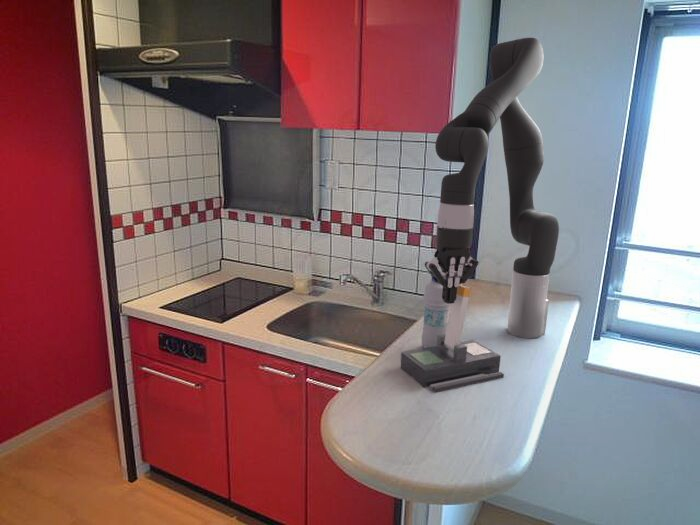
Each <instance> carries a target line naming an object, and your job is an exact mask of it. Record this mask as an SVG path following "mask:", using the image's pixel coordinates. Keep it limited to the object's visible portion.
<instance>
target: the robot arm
mask: <svg viewBox="0 0 700 525" xmlns="http://www.w3.org/2000/svg"><path fill="white" fill-rule="evenodd" d="M489 54H490V55H489V70H490V75H491V76H490V77H491V80H492V82H491V83H489V84H488V85H486V86H485V87H484V88H482V89H481V90H480V91H478V93H477V94H476V95H475V96H474V97H473V98H472V100H471V101H470V103H469V104H468V105H467V107H466V109H465V110H464V111H463V112H462V113H459V114H458V115H457V116H456V117H455V118H453V119H452V120H450V121H449V122H448V123H447V124H446V125H444V126H443V128H441V130H440V131H439V133H438V135H437V137H436V138H435V139H436V141H435V153H436V156H437V157H438V158H439V159H441V160H442V161H444V162H449V163H463V166H462V168H461V169H460V171H459V172H457V173H450V174H446V175H444V176H443V177H442V180H441V184H440V185H441V188H440V189H441V190H440V197H439V199H440V200H439V202H440V203H439V207H438V212H437V221H436V222H437V223H436V233H435V234H436V237H435V245H436V250H435V252H434V254H433V258H432V259H431V260H430V261H425V262H424V267H425V269H426V270H427V272H428V273H429V275H430V276H431V279H432V278H433V279H434V281H435V282H436V283H439V284H441V285H442V286H443V291H442V299H443V301H444V302H445V303H447V304H450V305H451V303H454V302H455V300H456V295H457V287H458V286H459V284H462V285H464V284H466V283H467V281H468V280H469V278H470V277H471V275H472V274H473V273H474V271H475V270H476V268H477V267H478V265H479V260H476V259H474V258H473V257H472V256H471V255H472V254H471V253H472V252H471V250H470V248H471V247H472V245H473V244H472V243H473V234H474V233H473V232H474V224H475V223H474V222H475V200H476V199H475V198H476V186H477V183H478V179H479V177H480V176H479V175H480V172H481V170H482V167H483V166H484V165H483V164H484V162H485V159H486V157H487V154H488V152H489V151H488V150H489V146H490V142H489V137H488V135H489V134H490V133H491V132H492V130H493V129H494V127H495V126H496V125H497V123H498V122H499V120H500V128H501V136H502V145H503V146H502V147H503V156H504V161H505V167H506V174H507V185H508V194H509V225H510V233H511V236H512V238H513V239H514V240H515V242H517V243H519V244H521V245H524V246H529V248H528V251H527V255H526V256H522V257H517V258H515V259H514V261H513V268H512V276H511V286H510V288H511V289H510V295H509V296H510V298H509V305H508V306H509V307H508V309H509V310H508V317H507V325H506V328H507V329H506V330H507V332H508V333H509V334H511V335H513V336H514V337H515V336H516V337H519V338H524V339H536V338H540V337H542V336H543V335H544V334H546V329H547V320H548V312H549V304H550V300H549V299H548V298H547V297H548V290H549V280H550V273H551V267H552V265H553V263H554V261H555V257H556V252H557V251H556V250H557V245H558V240H559V234H560V226H559V220H558V218H557V217H556V216H555V215H554V214H551V213H548V212H545V211H543V212H542V211H537V210H535V206H534V197H533V196H534V194H533V193H534V192H533V191H534V186H535V185H536V181H537V180H538V177H539V175H540V174H541V170H542V168H543V165H544V161H545V154H544V143H543V135H542V132H541V129H540V127H538V125H537V124H536V122H535V121H534V120H533V119H532V117H531V116H530V115H529V114H528V112H527V111H526V110H525V109H524V108H523V105H522V104H521V102H520V101H519V98H518V96H520V94H521V93H522V92H523V91H524V90H525V89H526V88H527V87H528V86H529V85H530V84H531V83H532V81H534V80H535V79H536V78H537V77H538V75H539V74H540V72H541V70H542V69H543V65H544V55H545V54H544V49H543V46H542V43H541V42H540V41H539V39H537V38H535V37H523V38H522V37H521V38H518V39H514V40H508V41H504V42H503V41H502V42H500V43H496V44H495V45H494V46H493V47H492V48H491V50H490V53H489ZM439 269H440V270H439ZM439 271H440V272H439Z"/></svg>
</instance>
